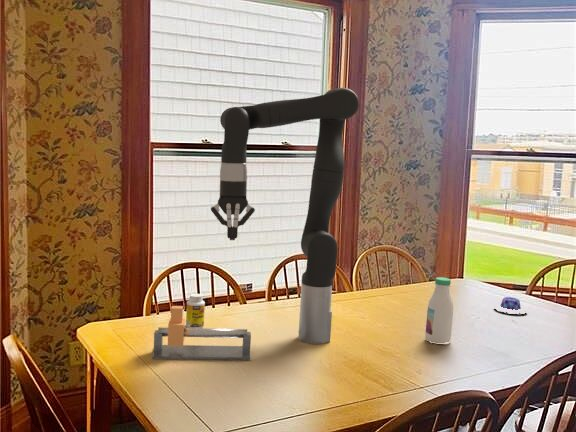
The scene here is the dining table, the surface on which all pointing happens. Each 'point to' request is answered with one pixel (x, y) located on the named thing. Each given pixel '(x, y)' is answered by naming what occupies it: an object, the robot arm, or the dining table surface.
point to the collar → (176, 327)
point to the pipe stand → (203, 351)
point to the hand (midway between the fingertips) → (232, 239)
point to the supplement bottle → (195, 311)
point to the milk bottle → (440, 313)
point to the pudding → (510, 303)
